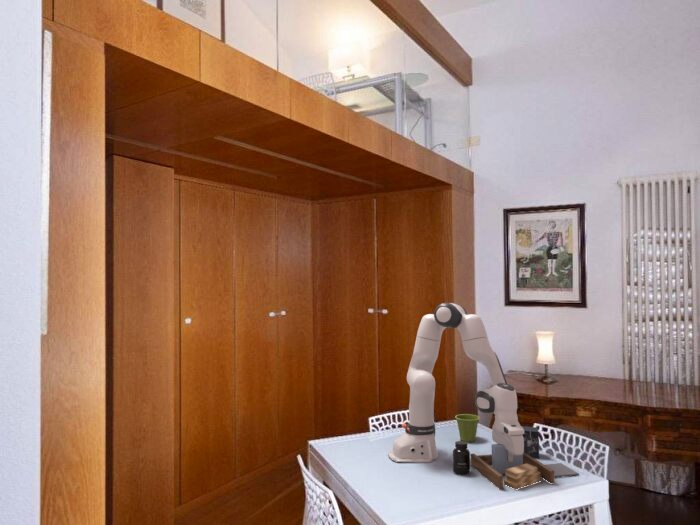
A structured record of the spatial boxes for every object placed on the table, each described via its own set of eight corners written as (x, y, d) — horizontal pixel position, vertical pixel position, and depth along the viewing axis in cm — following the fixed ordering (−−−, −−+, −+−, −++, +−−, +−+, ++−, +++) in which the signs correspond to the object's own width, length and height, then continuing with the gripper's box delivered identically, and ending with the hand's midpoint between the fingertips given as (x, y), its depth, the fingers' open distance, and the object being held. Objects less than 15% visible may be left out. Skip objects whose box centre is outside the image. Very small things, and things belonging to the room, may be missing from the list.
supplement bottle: (460, 476, 199) (459, 446, 200) (449, 471, 205) (448, 441, 206) (473, 473, 202) (473, 443, 203) (462, 468, 208) (461, 439, 209)
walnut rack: (499, 489, 186) (499, 476, 186) (471, 465, 211) (470, 453, 211) (554, 484, 190) (554, 470, 190) (519, 461, 215) (519, 449, 215)
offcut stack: (516, 491, 185) (516, 474, 185) (504, 485, 190) (503, 469, 191) (541, 482, 192) (540, 466, 193) (528, 477, 198) (528, 462, 198)
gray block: (495, 474, 200) (494, 446, 200) (492, 471, 203) (491, 444, 203) (523, 472, 202) (522, 444, 202) (519, 469, 205) (518, 442, 205)
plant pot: (483, 443, 240) (482, 419, 240) (458, 444, 240) (457, 420, 240) (477, 436, 252) (476, 413, 252) (453, 436, 252) (453, 414, 252)
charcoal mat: (551, 478, 196) (551, 476, 196) (534, 467, 208) (534, 465, 208) (579, 475, 198) (578, 473, 198) (560, 464, 210) (560, 463, 210)
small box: (507, 456, 222) (507, 428, 223) (508, 451, 228) (507, 424, 229) (539, 459, 218) (538, 431, 218) (539, 454, 224) (538, 427, 225)
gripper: (487, 418, 213) (488, 451, 212) (511, 432, 193) (512, 468, 192) (501, 417, 214) (502, 450, 213) (526, 431, 194) (527, 467, 193)
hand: (507, 459), depth 202 cm, fingers closed on gray block, 3 cm apart
